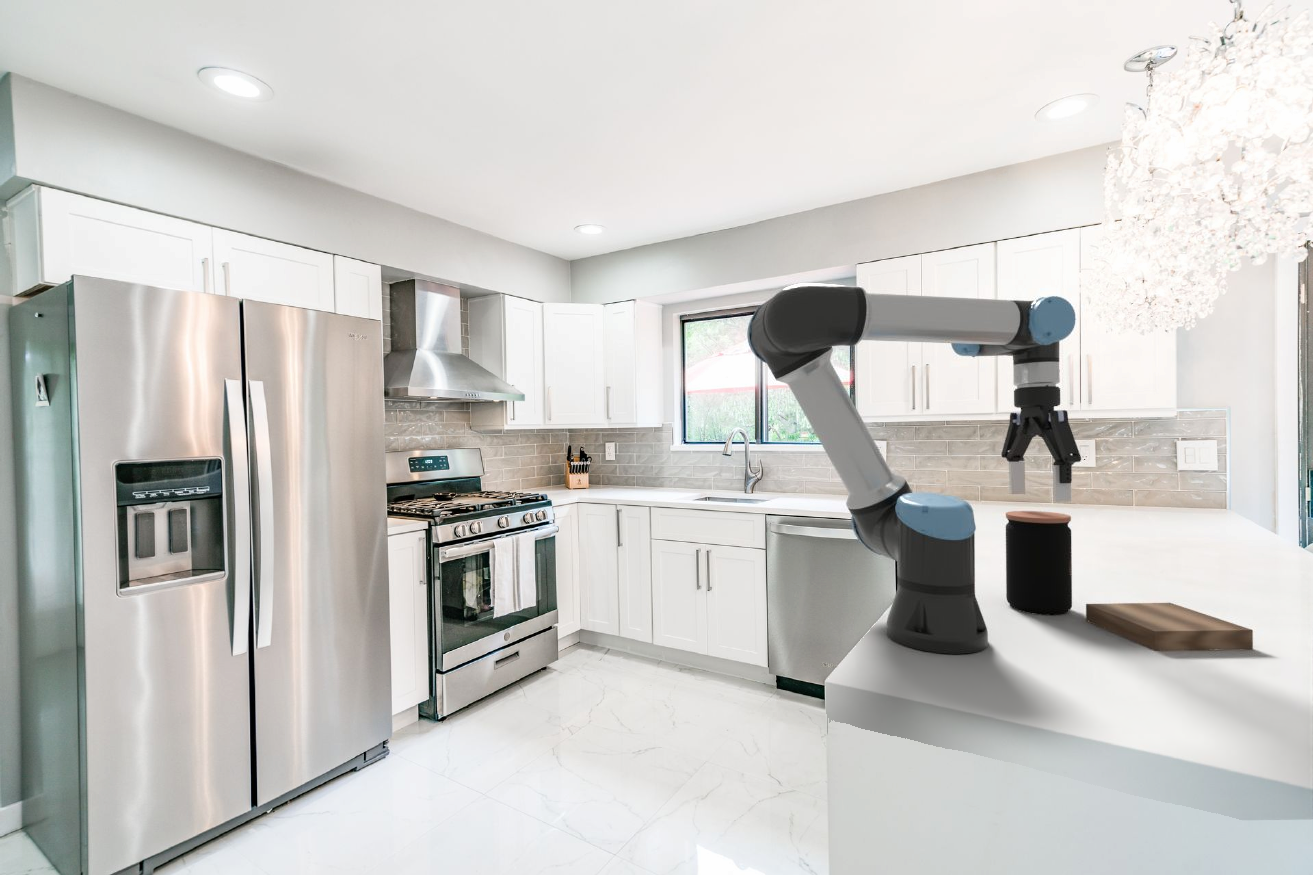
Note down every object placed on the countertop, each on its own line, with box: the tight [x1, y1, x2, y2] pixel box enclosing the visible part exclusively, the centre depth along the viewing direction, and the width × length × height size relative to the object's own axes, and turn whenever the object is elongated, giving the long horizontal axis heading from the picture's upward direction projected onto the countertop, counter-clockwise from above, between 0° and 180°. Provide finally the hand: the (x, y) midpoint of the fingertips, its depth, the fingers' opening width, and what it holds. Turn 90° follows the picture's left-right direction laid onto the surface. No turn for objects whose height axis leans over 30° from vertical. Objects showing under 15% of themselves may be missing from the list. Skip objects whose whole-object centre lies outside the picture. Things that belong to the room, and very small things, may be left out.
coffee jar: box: [1005, 510, 1073, 616], centre depth 116 cm, size 11×11×18 cm
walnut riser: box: [1085, 602, 1254, 652], centre depth 101 cm, size 15×15×3 cm
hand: (1038, 497), depth 116 cm, fingers open, 13 cm apart
